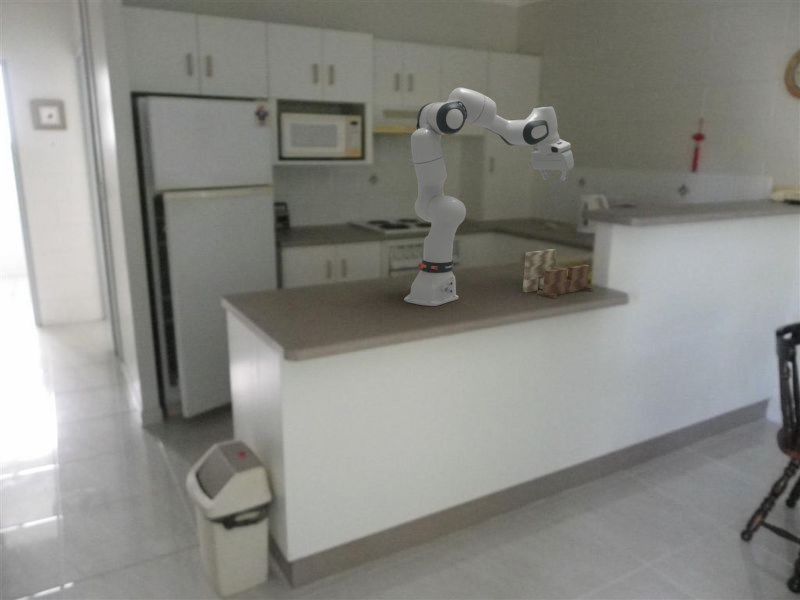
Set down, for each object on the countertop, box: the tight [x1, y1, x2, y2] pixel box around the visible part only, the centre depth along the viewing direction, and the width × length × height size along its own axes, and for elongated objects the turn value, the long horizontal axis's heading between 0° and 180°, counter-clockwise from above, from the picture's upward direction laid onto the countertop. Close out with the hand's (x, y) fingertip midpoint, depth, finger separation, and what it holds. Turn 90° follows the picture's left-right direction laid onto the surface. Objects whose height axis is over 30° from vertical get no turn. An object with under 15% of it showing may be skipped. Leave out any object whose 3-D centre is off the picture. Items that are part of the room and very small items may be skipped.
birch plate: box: [522, 248, 558, 293], centre depth 243 cm, size 16×2×16 cm, turn 124°
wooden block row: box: [536, 264, 594, 300], centre depth 240 cm, size 24×8×10 cm, turn 124°
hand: (554, 179), depth 243 cm, fingers open, 8 cm apart
